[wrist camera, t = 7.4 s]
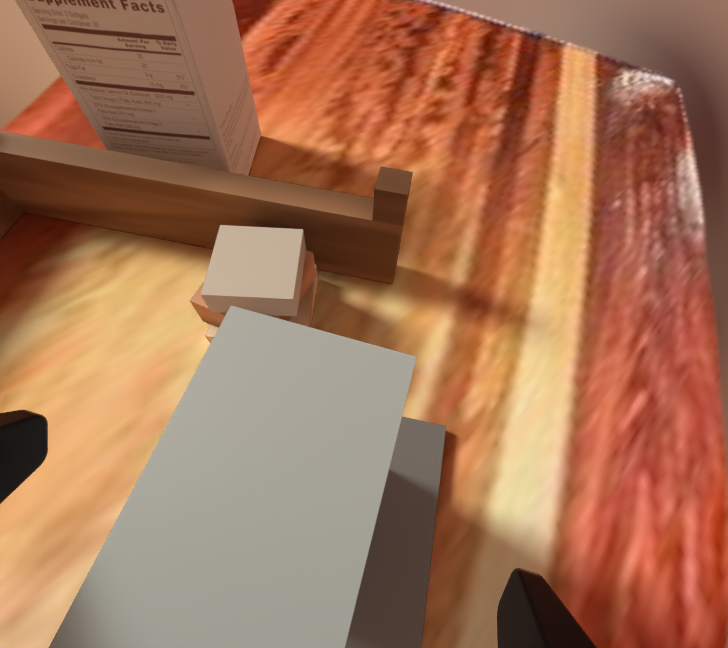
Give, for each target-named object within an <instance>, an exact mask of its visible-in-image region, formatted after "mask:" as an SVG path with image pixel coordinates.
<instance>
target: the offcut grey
mask: <svg viewBox="0 0 728 648" xmlns="http://www.w3.org/2000/svg"><path fill="white" fill-rule="evenodd" d="M305 254H306V245H305V238H304V231H303V229H288V228H268V227H248V226H229V225H220V228H219V231H218V235H217V238H216V242H215V245H214V249H213V252H212V256H211V260H210V263H209V267H208V270H207V274H206V277H205V281H204V285H203V288H202V292H201V296H202V298H203V299H204V301H205V303H206V305H207V306H208V308H209V310H210V311H211V312H216V313H227V312H228V310H229V308H230V306H235V307H239V308H242V309H246V310H249V311H253V312H257V313H260V314H264V315H277V316H297V312H298V305H299V298H300V290H301V283H302V276H303V268H304V261H305Z"/></svg>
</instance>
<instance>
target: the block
mask: <svg viewBox="0 0 728 648" xmlns="http://www.w3.org/2000/svg"><path fill="white" fill-rule="evenodd" d="M416 358H417V357H416V356H412V355H409V354H405V353H402V352H398V351H394V350H391V349H387V348H383V347H380V346H376V345H373V344H369V343H365V342H362V341H358V340H355V339H351V338H347V337H344V336H340V335H336V334H333V333H329V332H326V331H322V330H318V329H315V328H311V327H307V326H304V325H300V324H297V323H293V322H289V321H286V320H282V319H278V318H275V317H271V316H268V315H264V314H260V313H257V312H253V311H249V310H246V309H242V308H239V307H235V306H230V308H229V310H228V312H227V314H226V316H225V317H224V319H223V321H222V323H221V325H220V327H219V329H218V331H217V332H216V334H215V336H214V338H213V340H212V342H211V344H210V346H209V347H208V349H207V351H206V353H205V355H204V357H203V359H202V361H201V363H200V364H199V366H198V368H197V370H196V372H195V374H194V376H193V378H192V379H191V381H190V383H189V385H188V387H187V389H186V391H185V393H184V394H183V396H182V398H181V400H180V402H179V404H178V406H177V408H176V410H175V411H174V413H173V415H172V417H171V419H170V421H169V423H168V425H167V426H166V428H165V430H164V432H163V434H162V436H161V438H160V440H159V441H158V443H157V445H156V447H155V449H154V451H153V453H152V455H151V457H150V458H149V460H148V462H147V464H146V466H145V468H144V470H143V472H142V473H141V475H140V477H139V479H138V481H137V483H136V485H135V487H134V488H133V490H132V492H131V494H130V496H129V498H128V500H127V502H126V504H125V505H124V507H123V509H122V511H121V513H120V515H119V517H118V519H117V520H116V522H115V524H114V526H113V528H112V530H111V532H110V534H109V535H108V537H107V539H106V541H105V543H104V545H103V547H102V549H101V551H100V552H99V554H98V556H97V558H96V560H95V562H94V564H93V566H92V567H91V569H90V571H89V573H88V575H87V577H86V579H85V581H84V582H83V584H82V586H81V588H80V590H79V592H78V594H77V596H76V598H75V599H74V601H73V603H72V605H71V607H70V609H69V611H68V613H67V614H66V616H65V618H64V620H63V622H62V624H61V626H60V628H59V629H58V631H57V633H56V635H55V637H54V639H53V641H52V643H51V645H50V646H49V648H345V645H346V641H347V637H348V633H349V629H350V624H351V620H352V616H353V612H354V608H355V604H356V600H357V596H358V592H359V588H360V584H361V580H362V576H363V572H364V568H365V564H366V560H367V556H368V552H369V548H370V544H371V540H372V536H373V532H374V527H375V523H376V519H377V515H378V511H379V507H380V503H381V499H382V495H383V491H384V487H385V483H386V479H387V475H388V471H389V467H390V463H391V459H392V455H393V451H394V447H395V443H396V439H397V435H398V430H399V426H400V422H401V418H402V414H403V410H404V406H405V402H406V398H407V394H408V390H409V386H410V382H411V378H412V374H413V370H414V366H415V362H416Z"/></svg>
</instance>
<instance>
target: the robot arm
mask: <svg viewBox="0 0 728 648" xmlns="http://www.w3.org/2000/svg"><path fill="white" fill-rule="evenodd" d="M47 452H48V423H47V420H46V418H45V417H44V416H43V415H40V414H37V413H34V412H31V411H27V410H18V411H12V412H6V413H0V504H1V503H2V502H3V501H4V500H5V499H6V498H7V497H8V496H9V495H10V494H11V493H12V492H13V491H14V490H15V489H16V488H17V487H18V486H19V485H20V484H21V483H23V482H24V481H25V480H26V479H27V478H28V477H29V476H30V475H31V474H32V473H33V472H34V471H35V470H36V469H37V468H38V467H39V466H40V465H41V464H42V463H43V461H44V460H45V458H46V456H47ZM497 634H498V648H597V647H596V646H595V644H594V643H593V642H592V641H591V639H590V638H589V637H588V635H587V634H586V633H585V631H584V630H583V629H582V627H581V626H580V625H579V624H578V622H577V621H576V620H575V618H574V617H573V616H572V614H571V613H570V612H569V610H568V609H567V608H566V607H565V605H564V604H563V603H562V601H561V600H560V599H559V597H558V596H557V595H556V593H555V592H554V591H553V590H552V588H551V587H550V586H549V584H548V583H547V582H546V580H545V579H544V578H543V577H542V576H541V575H539V574H537V573H534V572H531V571H528V570H525V569H522V568H516V569H514V571H513V572H512V574H511V576H510V578H509V581H508V583H507V585H506V588H505V590H504V592H503V595H502V597H501V599H500V602H499V605H498V611H497Z"/></svg>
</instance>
